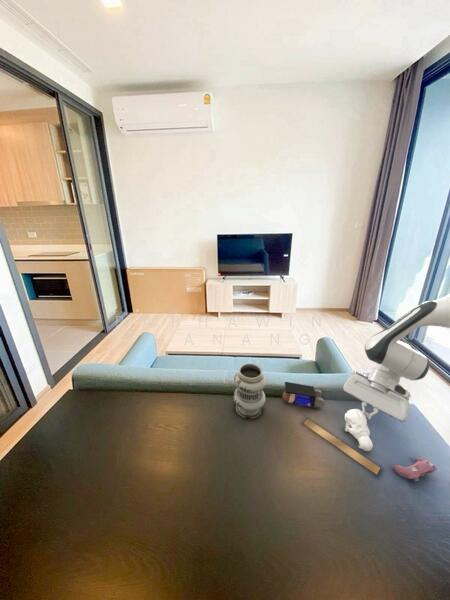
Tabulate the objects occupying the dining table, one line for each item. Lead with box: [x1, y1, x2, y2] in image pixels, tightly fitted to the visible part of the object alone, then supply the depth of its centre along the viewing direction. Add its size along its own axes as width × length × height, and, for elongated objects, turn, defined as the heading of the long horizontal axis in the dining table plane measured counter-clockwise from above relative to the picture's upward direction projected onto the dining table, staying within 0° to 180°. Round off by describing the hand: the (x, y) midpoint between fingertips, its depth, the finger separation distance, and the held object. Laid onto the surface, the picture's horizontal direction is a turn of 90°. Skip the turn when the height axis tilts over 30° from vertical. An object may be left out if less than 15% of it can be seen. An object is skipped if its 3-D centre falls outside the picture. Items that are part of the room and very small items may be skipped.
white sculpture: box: [344, 408, 373, 452], centre depth 81 cm, size 6×8×12 cm
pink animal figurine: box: [393, 457, 438, 482], centre depth 70 cm, size 10×5×7 cm, turn 105°
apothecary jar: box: [232, 363, 267, 420], centre depth 91 cm, size 12×12×18 cm
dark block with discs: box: [282, 381, 325, 409], centre depth 96 cm, size 7×8×15 cm
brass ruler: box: [303, 418, 381, 476], centre depth 80 cm, size 24×3×1 cm, turn 42°
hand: (365, 417), depth 85 cm, fingers closed
